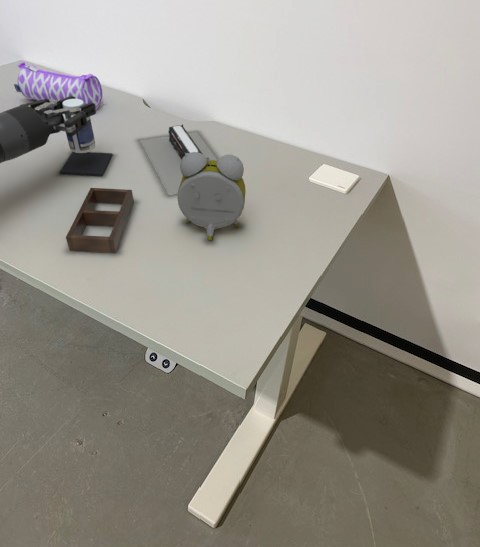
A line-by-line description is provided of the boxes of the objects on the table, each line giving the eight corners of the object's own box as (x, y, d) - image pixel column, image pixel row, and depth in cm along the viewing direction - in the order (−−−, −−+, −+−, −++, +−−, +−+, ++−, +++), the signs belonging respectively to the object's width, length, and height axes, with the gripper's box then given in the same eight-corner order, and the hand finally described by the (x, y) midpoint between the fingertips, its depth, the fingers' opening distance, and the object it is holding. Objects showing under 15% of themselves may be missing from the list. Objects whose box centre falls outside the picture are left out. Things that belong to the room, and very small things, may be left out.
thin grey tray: (196, 132, 106) (196, 116, 103) (234, 183, 90) (235, 165, 87) (140, 140, 102) (137, 123, 99) (169, 195, 86) (167, 177, 83)
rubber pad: (60, 174, 89) (59, 171, 89) (73, 153, 96) (72, 151, 95) (102, 176, 90) (102, 174, 89) (112, 155, 96) (112, 153, 96)
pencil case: (18, 103, 113) (6, 66, 107) (40, 91, 120) (30, 55, 113) (90, 117, 109) (82, 80, 103) (109, 104, 116) (102, 68, 109)
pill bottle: (99, 143, 92) (90, 98, 85) (91, 154, 88) (82, 108, 81) (74, 141, 91) (63, 96, 85) (66, 153, 88) (54, 106, 81)
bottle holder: (69, 250, 72) (65, 237, 70) (93, 200, 83) (90, 187, 81) (116, 253, 72) (113, 239, 70) (133, 202, 83) (131, 189, 81)
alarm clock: (243, 221, 80) (248, 149, 70) (241, 244, 76) (246, 170, 65) (183, 217, 81) (179, 144, 70) (177, 239, 76) (171, 165, 65)
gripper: (33, 124, 70) (107, 93, 80) (-22, 103, 74) (55, 77, 85) (45, 165, 75) (113, 131, 86) (-7, 142, 80) (64, 113, 91)
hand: (84, 104), depth 85 cm, fingers closed on pill bottle, 5 cm apart
